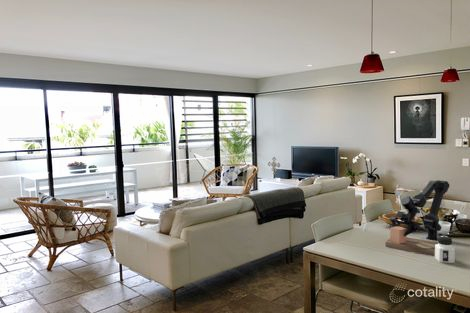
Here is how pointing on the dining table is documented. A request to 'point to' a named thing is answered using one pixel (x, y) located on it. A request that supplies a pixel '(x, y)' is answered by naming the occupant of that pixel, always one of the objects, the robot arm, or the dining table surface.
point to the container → (445, 250)
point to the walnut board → (414, 245)
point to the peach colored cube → (397, 234)
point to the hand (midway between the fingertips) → (397, 234)
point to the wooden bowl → (387, 218)
